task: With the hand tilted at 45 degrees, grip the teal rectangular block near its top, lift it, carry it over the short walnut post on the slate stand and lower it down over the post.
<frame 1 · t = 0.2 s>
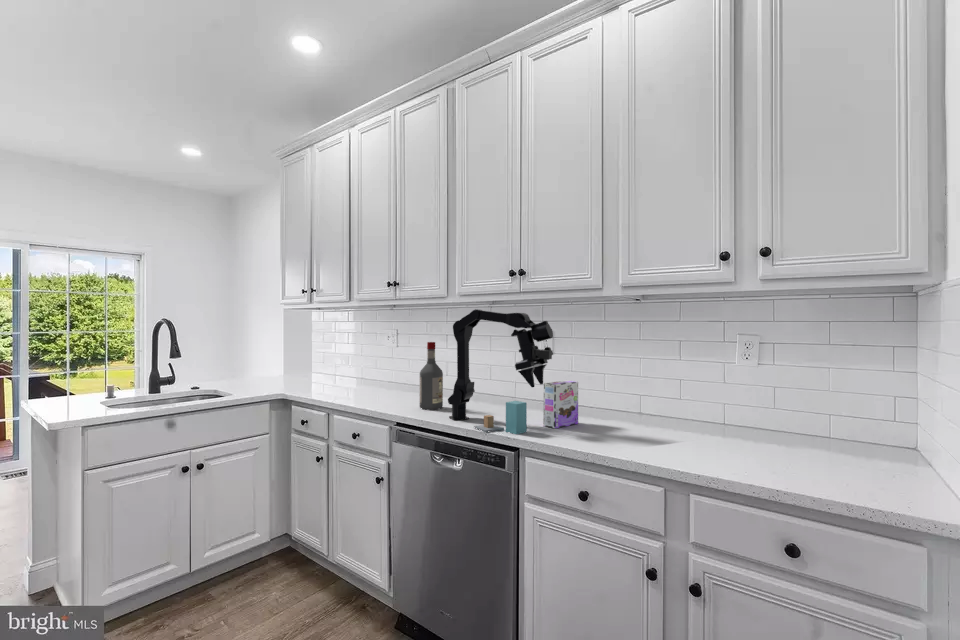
hand: (537, 385, 175), 15 cm above the counter, tool tilted 15°, fingers open, 9 cm apart
candy box: (561, 425, 178), on the counter
teal rectangular block: (516, 431, 167), on the counter
liquor: (431, 408, 214), on the counter
post stand: (488, 429, 171), on the counter
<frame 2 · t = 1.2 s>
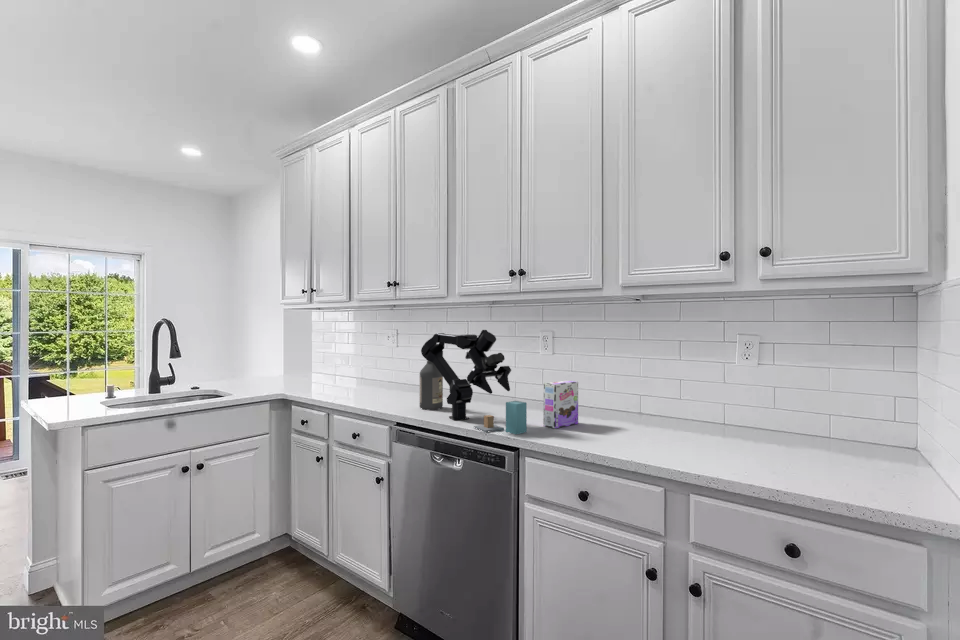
hand: (500, 391, 173), 13 cm above the counter, tool tilted 45°, fingers open, 9 cm apart
nothing on the counter moved.
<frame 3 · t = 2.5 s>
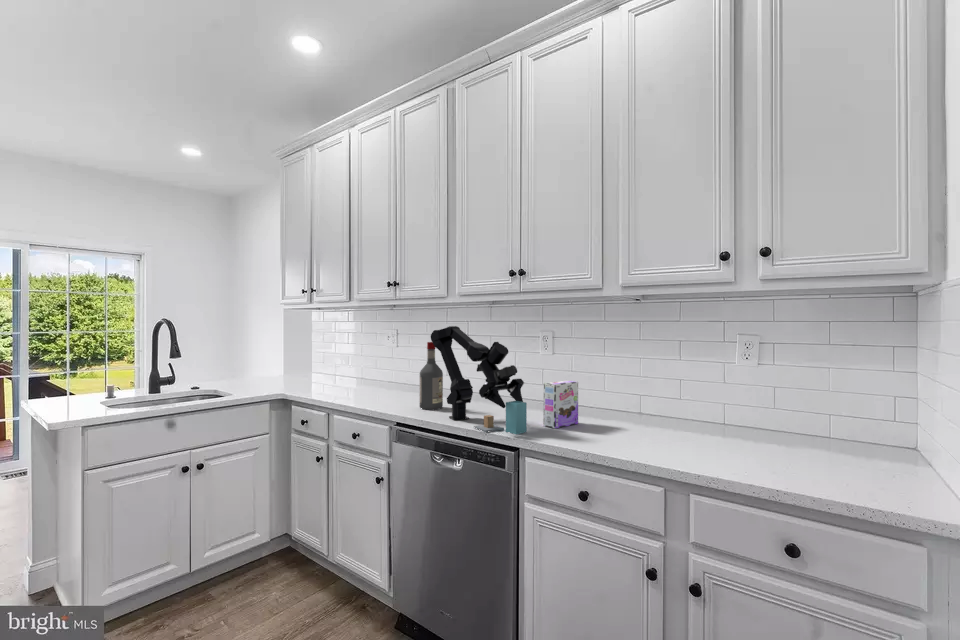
hand: (513, 405, 168), 9 cm above the counter, tool tilted 45°, fingers open, 9 cm apart
nothing on the counter moved.
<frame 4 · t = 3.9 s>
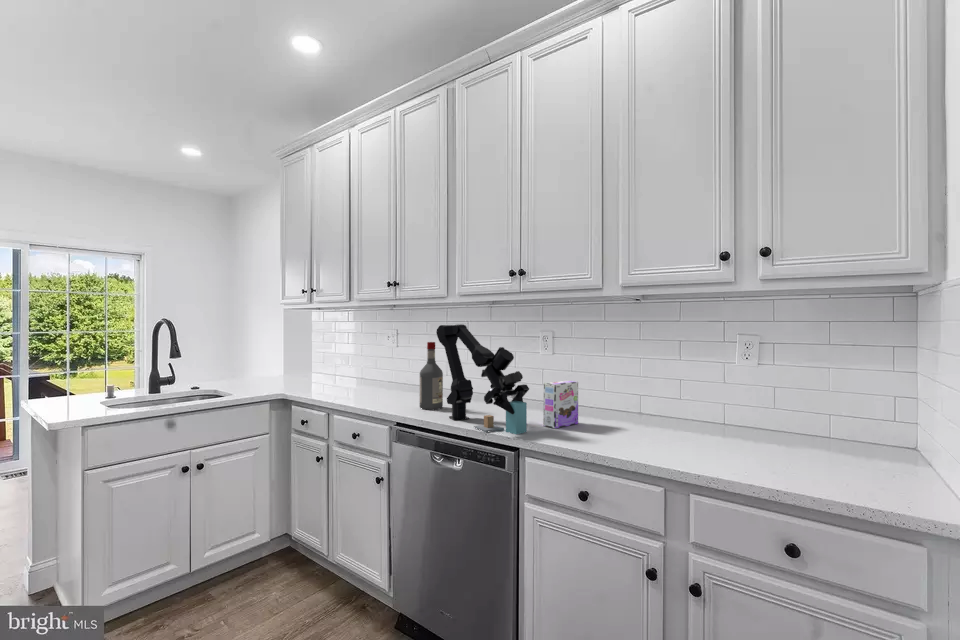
hand: (519, 412, 166), 7 cm above the counter, tool tilted 45°, fingers closed on teal rectangular block, 5 cm apart
teal rectangular block: (516, 431, 167), on the counter, touching gripper
everything else where it was.
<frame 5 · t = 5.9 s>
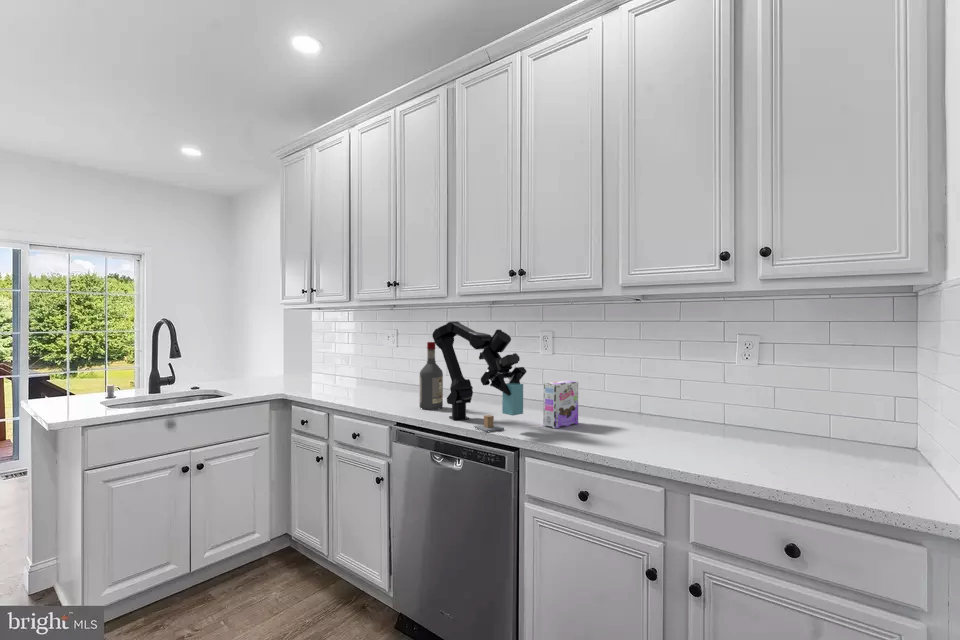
hand: (515, 394, 166), 14 cm above the counter, tool tilted 45°, fingers closed on teal rectangular block, 5 cm apart
teal rectangular block: (512, 413, 167), point 6 cm above the counter, touching gripper
everything else where it was.
when the fingers open (9 cm above the counter, at t = 8.1 s): teal rectangular block drops 1 cm, resting on post stand.
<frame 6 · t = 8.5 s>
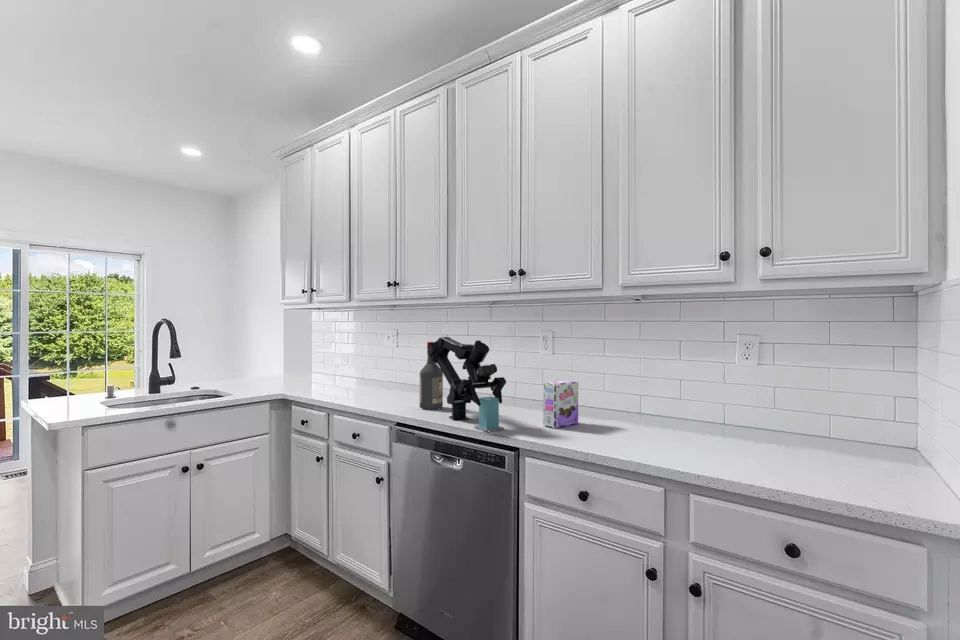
hand: (490, 404, 170), 9 cm above the counter, tool tilted 45°, fingers open, 9 cm apart
teal rectangular block: (488, 426, 171), point 1 cm above the counter, touching post stand
everything else where it was.
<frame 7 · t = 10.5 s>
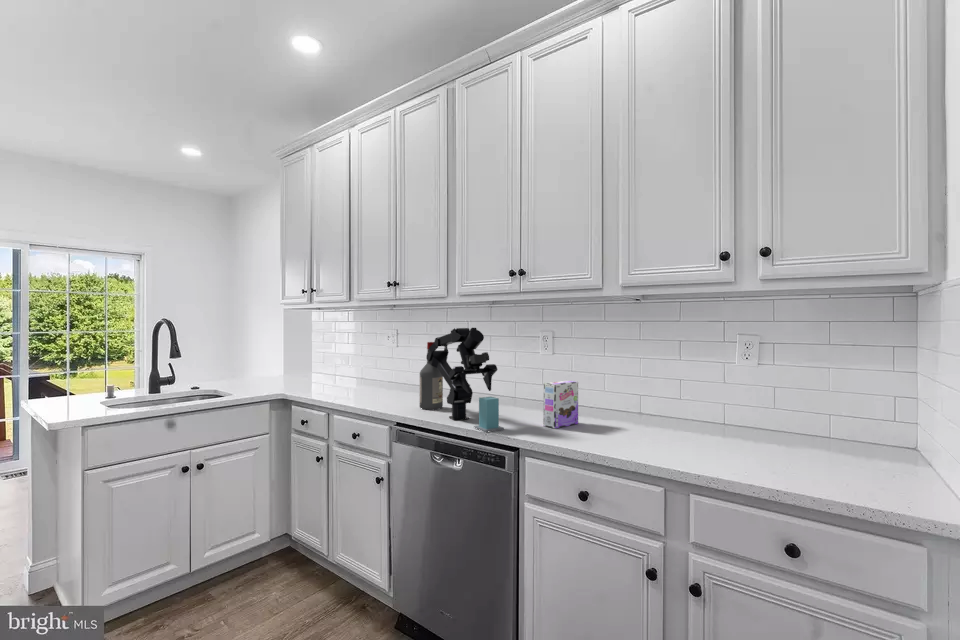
hand: (479, 391, 176), 13 cm above the counter, tool tilted 35°, fingers open, 9 cm apart
nothing on the counter moved.
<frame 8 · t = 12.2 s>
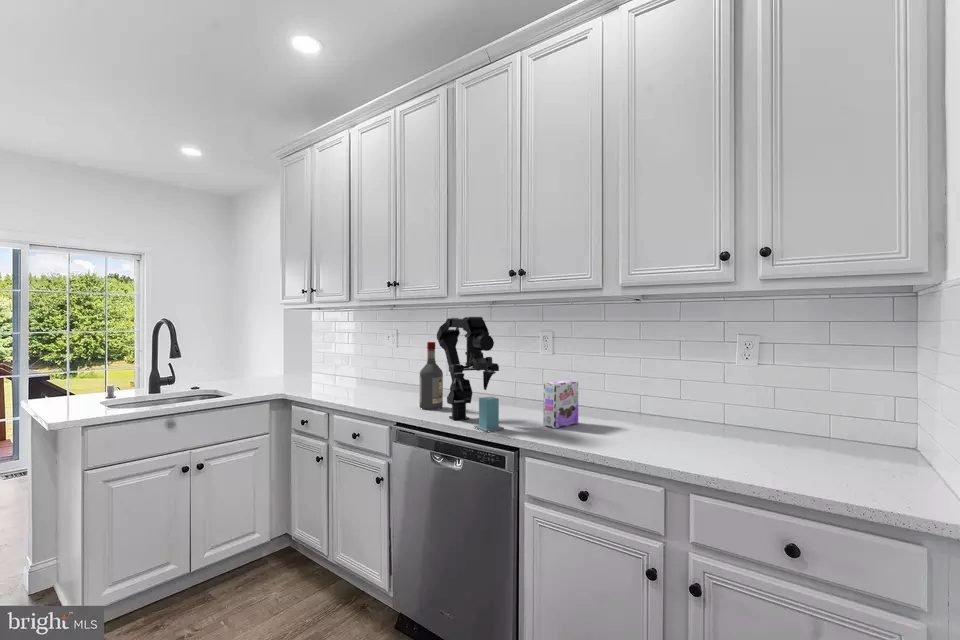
hand: (474, 390, 179), 13 cm above the counter, tool pointing down, fingers open, 9 cm apart
nothing on the counter moved.
at the end: teal rectangular block 0.0 cm from the post stand (horizontally); teal rectangular block point 0.8 cm above the counter; teal rectangular block tilted 0° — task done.
